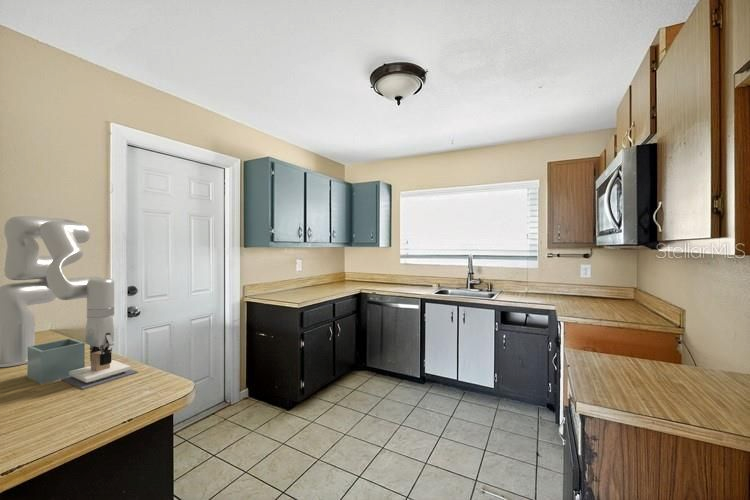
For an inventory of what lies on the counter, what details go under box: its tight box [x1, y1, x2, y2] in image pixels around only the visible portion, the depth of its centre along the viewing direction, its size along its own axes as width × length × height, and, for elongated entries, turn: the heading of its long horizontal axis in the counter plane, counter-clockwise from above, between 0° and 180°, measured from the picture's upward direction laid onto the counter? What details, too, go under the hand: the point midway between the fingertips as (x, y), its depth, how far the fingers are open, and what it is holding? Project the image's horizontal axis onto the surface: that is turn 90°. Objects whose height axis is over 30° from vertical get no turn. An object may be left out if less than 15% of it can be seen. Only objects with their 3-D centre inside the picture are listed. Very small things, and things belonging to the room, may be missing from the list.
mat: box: [61, 368, 139, 391], centre depth 114 cm, size 16×16×1 cm
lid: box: [69, 351, 132, 383], centre depth 114 cm, size 13×13×8 cm
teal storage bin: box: [27, 337, 86, 385], centre depth 115 cm, size 12×12×11 cm
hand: (100, 361), depth 114 cm, fingers open, 6 cm apart
